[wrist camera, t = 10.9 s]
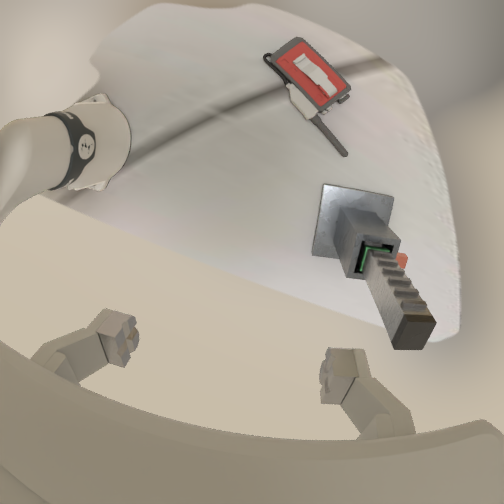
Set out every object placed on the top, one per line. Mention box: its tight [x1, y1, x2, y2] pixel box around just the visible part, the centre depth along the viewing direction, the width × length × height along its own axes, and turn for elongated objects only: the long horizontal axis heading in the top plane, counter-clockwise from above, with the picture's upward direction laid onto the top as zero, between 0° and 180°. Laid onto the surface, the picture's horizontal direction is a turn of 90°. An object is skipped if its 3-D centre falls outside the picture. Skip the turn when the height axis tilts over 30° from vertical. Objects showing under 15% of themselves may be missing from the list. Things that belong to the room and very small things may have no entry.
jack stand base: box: [312, 184, 408, 280], centre depth 38 cm, size 12×12×13 cm
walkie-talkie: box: [263, 37, 351, 157], centre depth 34 cm, size 9×4×20 cm
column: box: [357, 240, 436, 350], centre depth 28 cm, size 3×4×20 cm
